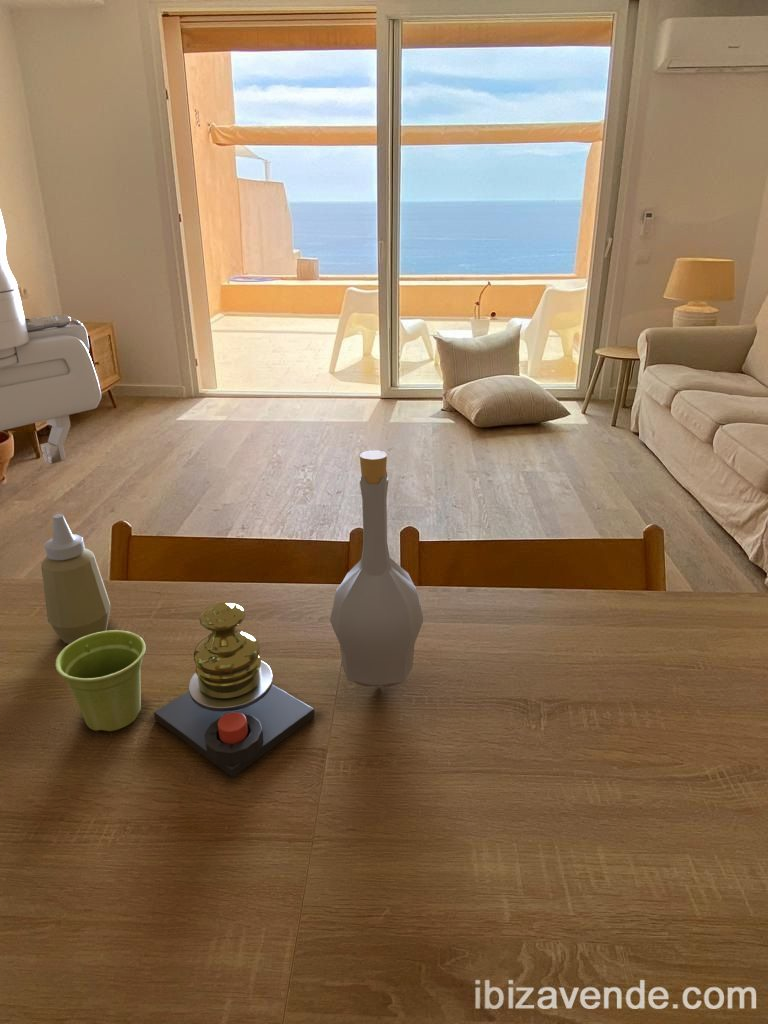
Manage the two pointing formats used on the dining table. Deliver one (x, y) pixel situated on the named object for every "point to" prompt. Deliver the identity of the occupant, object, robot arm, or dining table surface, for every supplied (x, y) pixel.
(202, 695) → the weighing pan
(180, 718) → the scale
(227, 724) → the tare button
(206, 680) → the gold ribbed tiered piece
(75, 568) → the squeeze bottle
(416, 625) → the bottle
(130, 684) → the plant pot
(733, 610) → the dining table surface
